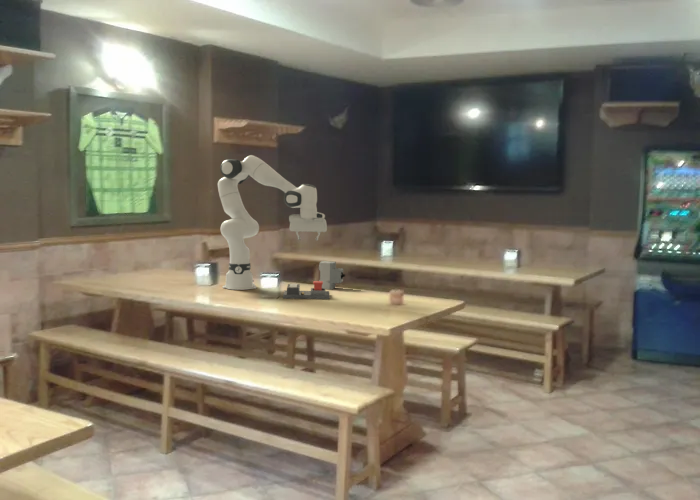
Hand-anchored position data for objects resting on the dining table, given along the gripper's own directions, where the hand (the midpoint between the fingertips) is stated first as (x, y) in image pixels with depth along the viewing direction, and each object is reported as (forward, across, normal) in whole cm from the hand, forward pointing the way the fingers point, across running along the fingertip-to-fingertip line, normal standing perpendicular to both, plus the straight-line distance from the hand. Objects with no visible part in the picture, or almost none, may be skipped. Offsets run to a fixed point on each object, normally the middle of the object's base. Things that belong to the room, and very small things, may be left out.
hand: (308, 240), depth 369 cm
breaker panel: (+29, 0, -10) cm, 31 cm away
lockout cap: (+27, +6, -10) cm, 29 cm away
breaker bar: (+26, -7, -10) cm, 29 cm away
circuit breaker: (+29, +14, +20) cm, 38 cm away
